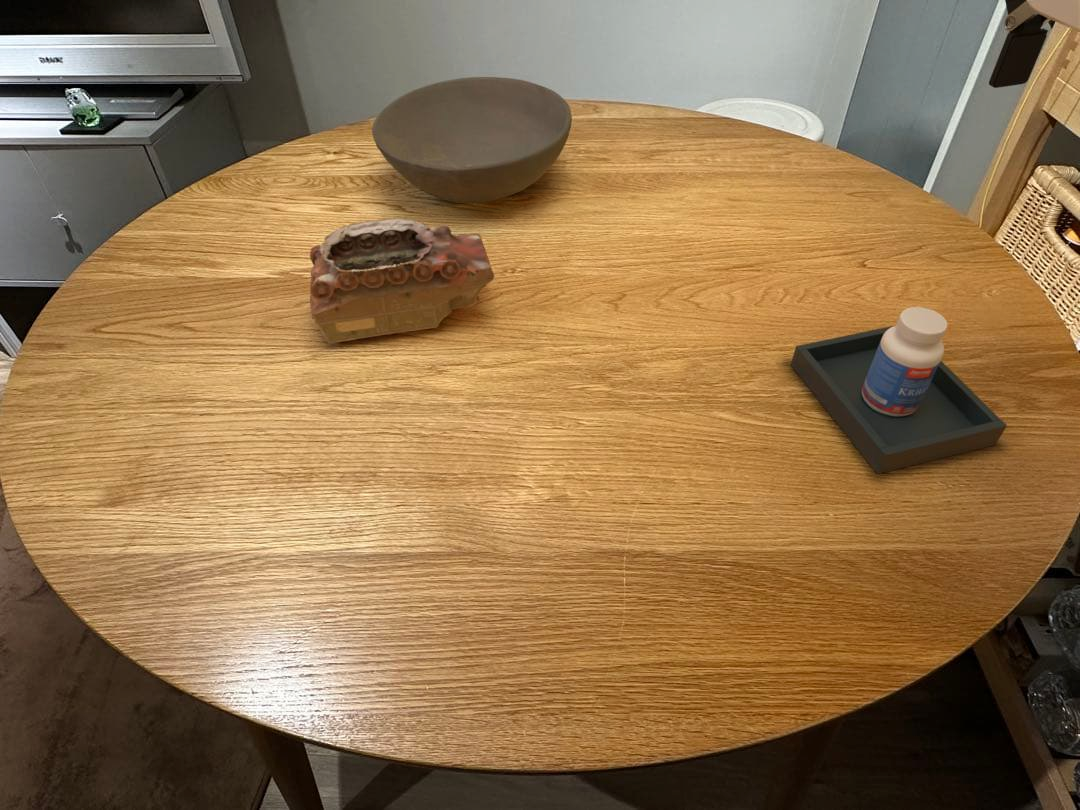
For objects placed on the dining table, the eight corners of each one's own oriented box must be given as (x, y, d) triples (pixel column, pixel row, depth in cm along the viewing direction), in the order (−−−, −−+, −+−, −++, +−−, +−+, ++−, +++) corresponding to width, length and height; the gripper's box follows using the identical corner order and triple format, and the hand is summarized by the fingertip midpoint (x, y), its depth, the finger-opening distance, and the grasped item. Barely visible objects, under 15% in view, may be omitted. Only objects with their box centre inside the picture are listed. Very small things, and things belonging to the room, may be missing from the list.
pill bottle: (891, 426, 73) (926, 346, 66) (848, 392, 76) (877, 313, 69) (931, 405, 75) (969, 326, 68) (887, 373, 78) (919, 295, 71)
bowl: (593, 218, 101) (596, 146, 94) (391, 246, 97) (379, 172, 90) (546, 133, 120) (545, 67, 113) (375, 153, 115) (363, 86, 108)
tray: (995, 444, 72) (1007, 425, 70) (877, 474, 69) (885, 455, 67) (896, 342, 82) (903, 323, 81) (790, 364, 80) (795, 345, 78)
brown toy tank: (323, 281, 92) (305, 209, 85) (491, 270, 93) (486, 197, 86) (312, 353, 82) (291, 277, 76) (498, 338, 84) (494, 263, 77)
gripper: (1378, -153, 41) (1191, 153, 53) (1117, -196, 53) (1013, 62, 64) (1267, -144, 39) (1100, 169, 51) (1025, -190, 51) (935, 73, 63)
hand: (1051, 109), depth 58 cm, fingers open, 9 cm apart
